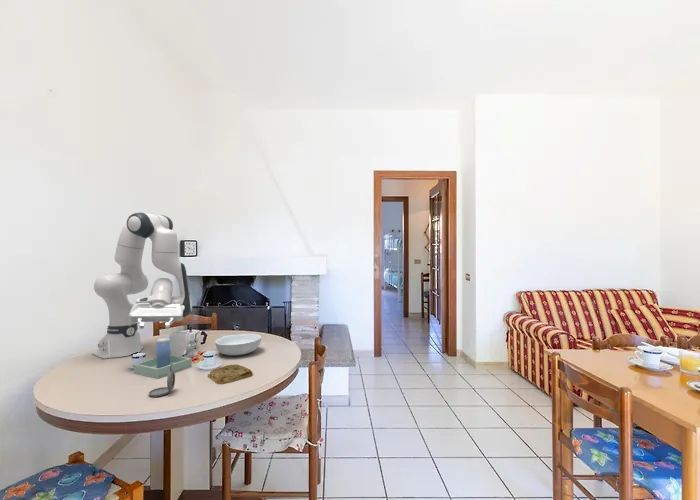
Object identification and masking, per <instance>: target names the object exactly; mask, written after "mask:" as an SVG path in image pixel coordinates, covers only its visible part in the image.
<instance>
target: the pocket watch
mask: <svg viewBox="0 0 700 500" xmlns="http://www.w3.org/2000/svg"><path fill="white" fill-rule="evenodd" d="M171 365H173V363H172V364H171ZM171 369H172V366H170V371H169V373H168V375H167V378H166V379H167V380H166V386H162V387H158V388H154V389H151V390H150V391H148V395H149V397H156V398H157V397H162V396H165V395H168V394H169V393H171V392H172V391H173V390H174V388H175V384H176V372H174V370H171Z"/></svg>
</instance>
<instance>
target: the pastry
mask: <svg viewBox="0 0 700 500" xmlns="http://www.w3.org/2000/svg"><path fill="white" fill-rule="evenodd" d="M252 376H253V371H252V370H251V369H250V368H247V367H245V366H243V365H239V364H227V365H225V366H222V367H221V366H220V367H218V368H214V369H212V370H211V371H210V373H208V374H207V378H209V379H211V380H212V381H213V383H215V384H216V385H225V384H229V383H234V382H237V381H240V380H244V379H247V378H250V377H252Z"/></svg>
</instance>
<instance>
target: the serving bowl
mask: <svg viewBox="0 0 700 500" xmlns="http://www.w3.org/2000/svg"><path fill="white" fill-rule="evenodd" d="M214 342H215V343H214V344H215V347H216V350H217V351H218V352H219V353H221V354H222V355H225V356H233V357H235V356H237V357H239V356H243V355H246V354H250V353H252V352H254V351H255V350H257V348H258V347H259V346H260V344H261V343H262V336H261V335H260V334H255V333H240V334H230V335H226V336H222V337H219V338H218V339H216V340H215V341H214Z"/></svg>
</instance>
